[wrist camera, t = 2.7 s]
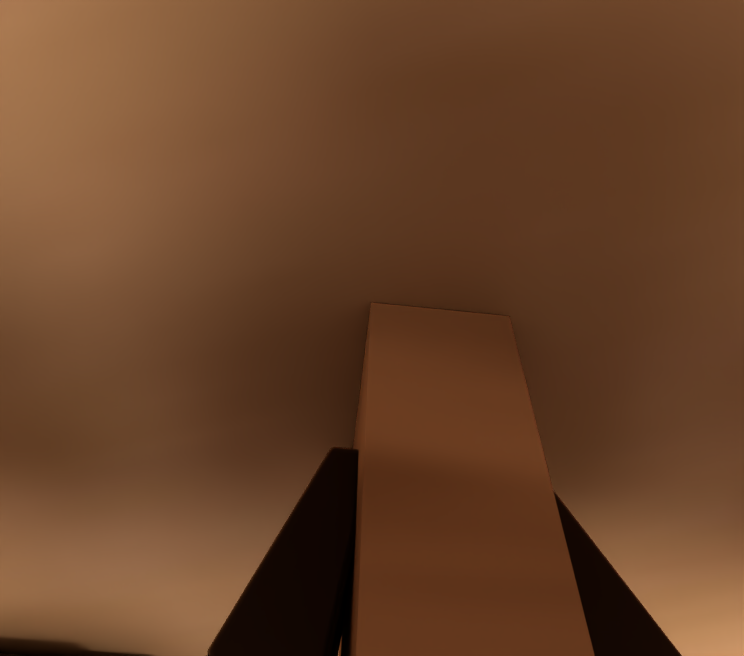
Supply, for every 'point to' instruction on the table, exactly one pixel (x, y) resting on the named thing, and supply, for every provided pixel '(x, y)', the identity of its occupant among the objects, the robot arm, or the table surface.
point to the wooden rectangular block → (454, 499)
